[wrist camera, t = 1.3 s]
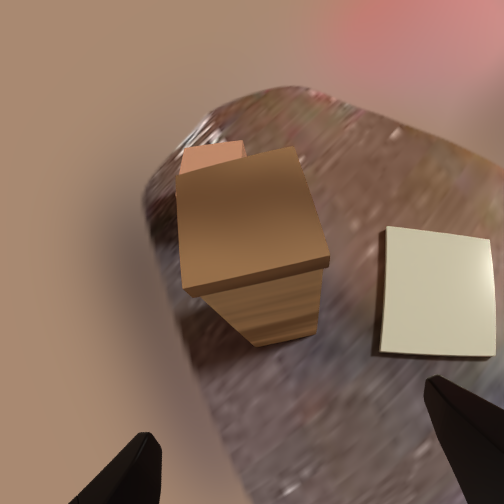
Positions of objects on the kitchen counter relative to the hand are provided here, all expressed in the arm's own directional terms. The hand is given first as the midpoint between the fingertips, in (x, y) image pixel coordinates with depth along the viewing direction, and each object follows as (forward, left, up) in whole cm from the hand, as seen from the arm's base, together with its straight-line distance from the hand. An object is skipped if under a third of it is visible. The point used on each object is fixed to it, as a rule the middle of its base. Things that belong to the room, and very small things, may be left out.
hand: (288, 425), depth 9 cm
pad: (+11, -8, -13) cm, 19 cm away
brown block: (+6, +4, -13) cm, 15 cm away
